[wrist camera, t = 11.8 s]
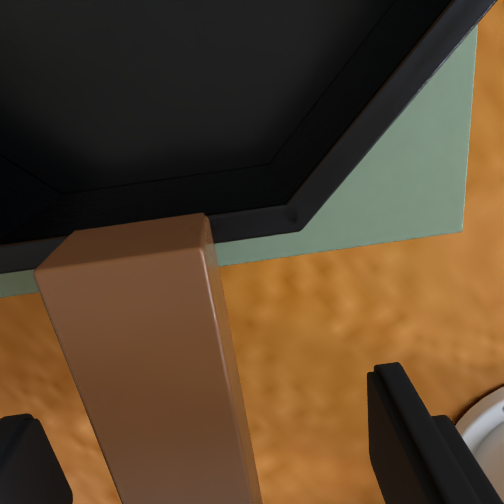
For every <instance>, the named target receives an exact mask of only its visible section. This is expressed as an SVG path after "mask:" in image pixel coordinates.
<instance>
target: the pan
mask: <svg viewBox="0 0 504 504" xmlns="http://www.w3.org/2000/svg"><path fill="white" fill-rule="evenodd" d="M496 1H497V0H0V274H5V273H12V272H19V271H26V270H33V269H35V270H34V272H33V276H34V279H35V282H36V284H37V287H38V289H39V292H40V294H41V297H42V300H43V302H44V305H45V307H46V310H47V312H48V315H49V317H50V320H51V323H52V325H53V328H54V330H55V333H56V335H57V338H58V341H59V343H60V346H61V348H62V351H63V353H64V356H65V358H66V361H67V364H68V366H69V369H70V371H71V374H72V376H73V379H74V382H75V384H76V387H77V389H78V392H79V394H80V397H81V399H82V402H83V405H84V407H85V410H86V412H87V415H88V417H89V420H90V423H91V425H92V428H93V430H94V433H95V435H96V438H97V440H98V443H99V446H100V448H101V451H102V453H103V456H104V458H105V461H106V464H107V466H108V469H109V471H110V474H111V476H112V479H113V481H114V484H115V487H116V489H117V492H118V494H119V497H120V499H121V502H122V504H263V503H262V498H261V493H260V487H259V482H258V476H257V471H256V465H255V460H254V454H253V449H252V444H251V438H250V433H249V427H248V422H247V416H246V411H245V406H244V400H243V395H242V389H241V384H240V378H239V373H238V367H237V362H236V357H235V351H234V346H233V340H232V335H231V329H230V324H229V319H228V313H227V308H226V302H225V297H224V291H223V286H222V280H221V275H220V270H219V264H218V259H217V253H216V248H215V244H217V243H224V242H231V241H238V240H245V239H252V238H260V237H267V236H274V235H281V234H288V233H295V232H299V231H301V230H303V229H304V227H305V226H306V225H307V224H308V223H309V221H310V220H311V219H312V218H313V217H314V216H315V214H316V213H317V212H318V211H319V210H320V209H321V207H322V206H323V205H324V204H325V203H326V201H327V200H328V199H329V198H330V197H331V196H332V194H333V193H334V192H335V191H336V190H337V189H338V187H339V186H340V185H341V184H342V183H343V181H344V180H345V179H346V178H347V177H348V176H349V174H350V173H351V172H352V171H353V170H354V169H355V167H356V166H357V165H358V164H359V163H360V161H361V160H362V159H363V158H364V157H365V156H366V154H367V153H368V152H369V151H370V150H371V149H372V147H373V146H374V145H375V144H376V143H377V141H378V140H379V139H380V138H381V137H382V136H383V134H384V133H385V132H386V131H387V130H388V129H389V127H390V126H391V125H392V124H393V123H394V121H395V120H396V119H397V118H398V117H399V116H400V114H401V113H402V112H403V111H404V110H405V109H406V107H407V106H408V105H409V104H410V103H411V101H412V100H413V99H414V98H415V97H416V96H417V94H418V93H419V92H420V91H421V90H422V89H423V87H424V86H425V85H426V84H427V83H428V81H429V80H430V79H431V78H432V77H433V76H434V74H435V73H436V72H437V71H438V70H439V69H440V67H441V66H442V65H443V64H444V63H445V61H446V60H447V59H448V58H449V57H450V56H451V54H452V53H453V52H454V51H455V50H456V49H457V47H458V46H459V45H460V44H461V43H462V41H463V40H464V39H465V38H466V37H467V36H468V34H469V33H470V32H471V31H472V30H473V29H474V27H475V26H476V25H477V24H478V23H479V21H480V20H481V19H482V18H483V17H484V16H485V14H486V13H487V12H488V11H489V10H490V9H491V7H492V6H493V5H494V4H495V3H496Z"/></svg>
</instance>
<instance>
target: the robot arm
mask: <svg viewBox="0 0 504 504" xmlns="http://www.w3.org/2000/svg"><path fill="white" fill-rule="evenodd" d="M367 396H368V430H369V454H370V460H371V464H372V467H373V470H374V473H375V475H376V478H377V481H378V484H379V487H380V489H381V492H382V495H383V498H384V501H385V503H386V504H504V387H501V388H499V389H498V390H496V391H494V392H493V393H491V394H489V395H488V396H486V397H484V398H483V399H482V400H480V401H479V402H478V403H477V404H475V405H474V406H473V407H472V408H470V409H469V410H468V411H467V412H466V414H465V415H464V416H463V417H462V418H461V419H460V420H459V421H458V423H457V424H456V426H454V424H453V423H452V421H451V420H450V419H449V418H448V417H447V416H446V415H438V416H430V414H429V412H428V410H427V409H426V407H425V405H424V403H423V402H422V400H421V398H420V397H419V395H418V393H417V391H416V390H415V388H414V386H413V385H412V383H411V381H410V379H409V378H408V376H407V374H406V373H405V371H404V369H403V367H402V366H401V364H400V363H398V362H395V363H387V364H380V365H375V366H374V372H368V373H367ZM72 502H73V495H72V491H71V488H70V486H69V484H68V482H67V480H66V477H65V475H64V473H63V471H62V469H61V466H60V464H59V462H58V460H57V458H56V455H55V453H54V451H53V449H52V447H51V445H50V442H49V440H48V438H47V436H46V434H45V431H44V429H43V427H42V425H41V423H40V421H39V420H38V419H34V418H33V416H32V415H30V414H20V415H12V416H5V417H3V418H1V419H0V504H72Z"/></svg>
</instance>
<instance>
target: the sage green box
mask: <svg viewBox="0 0 504 504" xmlns="http://www.w3.org/2000/svg"><path fill="white" fill-rule="evenodd" d="M477 31H478V24H477V25H476V26H475V27H474V29H473V30H472V31H471V32H470V33H469V34H468V36H467V37H466V38H465V39H464V40H463V41H462V43H461V44H460V45H459V46H458V47H457V49H456V50H455V51H454V52H453V53H452V54H451V56H450V57H449V58H448V59H447V60H446V61H445V63H444V64H443V65H442V66H441V67H440V69H439V70H438V71H437V72H436V73H435V74H434V76H433V77H432V78H431V79H430V80H429V81H428V83H427V84H426V85H425V86H424V87H423V89H422V90H421V91H420V92H419V93H418V94H417V96H416V97H415V98H414V99H413V100H412V101H411V103H410V104H409V105H408V106H407V107H406V109H405V110H404V111H403V112H402V113H401V114H400V116H399V117H398V118H397V119H396V120H395V121H394V123H393V124H392V125H391V126H390V127H389V129H388V130H387V131H386V132H385V133H384V134H383V136H382V137H381V138H380V139H379V140H378V141H377V143H376V144H375V145H374V146H373V147H372V149H371V150H370V151H369V152H368V153H367V154H366V156H365V157H364V158H363V159H362V160H361V161H360V163H359V164H358V165H357V166H356V167H355V169H354V170H353V171H352V172H351V173H350V174H349V176H348V177H347V178H346V179H345V180H344V181H343V183H342V184H341V185H340V186H339V187H338V189H337V190H336V191H335V192H334V193H333V194H332V196H331V197H330V198H329V199H328V200H327V201H326V203H325V204H324V205H323V206H322V207H321V209H320V210H319V211H318V212H317V213H316V214H315V216H314V217H313V218H312V219H311V220H310V221H309V223H308V224H307V225H306V226H305V227H304V229H303V230H301V231H299V232H295V233H288V234H281V235H274V236H267V237H260V238H252V239H245V240H238V241H231V242H224V243H217V244H215V248H216V253H217V259H218V264H219V266H226V265H233V264H240V263H247V262H254V261H261V260H268V259H275V258H282V257H289V256H296V255H303V254H310V253H317V252H324V251H331V250H338V249H345V248H352V247H359V246H366V245H373V244H380V243H387V242H394V241H401V240H408V239H415V238H422V237H429V236H436V235H443V234H450V233H457V232H462V230H463V216H464V203H465V190H466V177H467V164H468V150H469V137H470V124H471V111H472V97H473V84H474V71H475V58H476V45H477ZM34 270H35V269H33V270H26V271H19V272H12V273H5V274H0V298H2V297H9V296H16V295H23V294H30V293H37V292H39V289H38V287H37V284H36V282H35V279H34V276H33V272H34Z"/></svg>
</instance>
